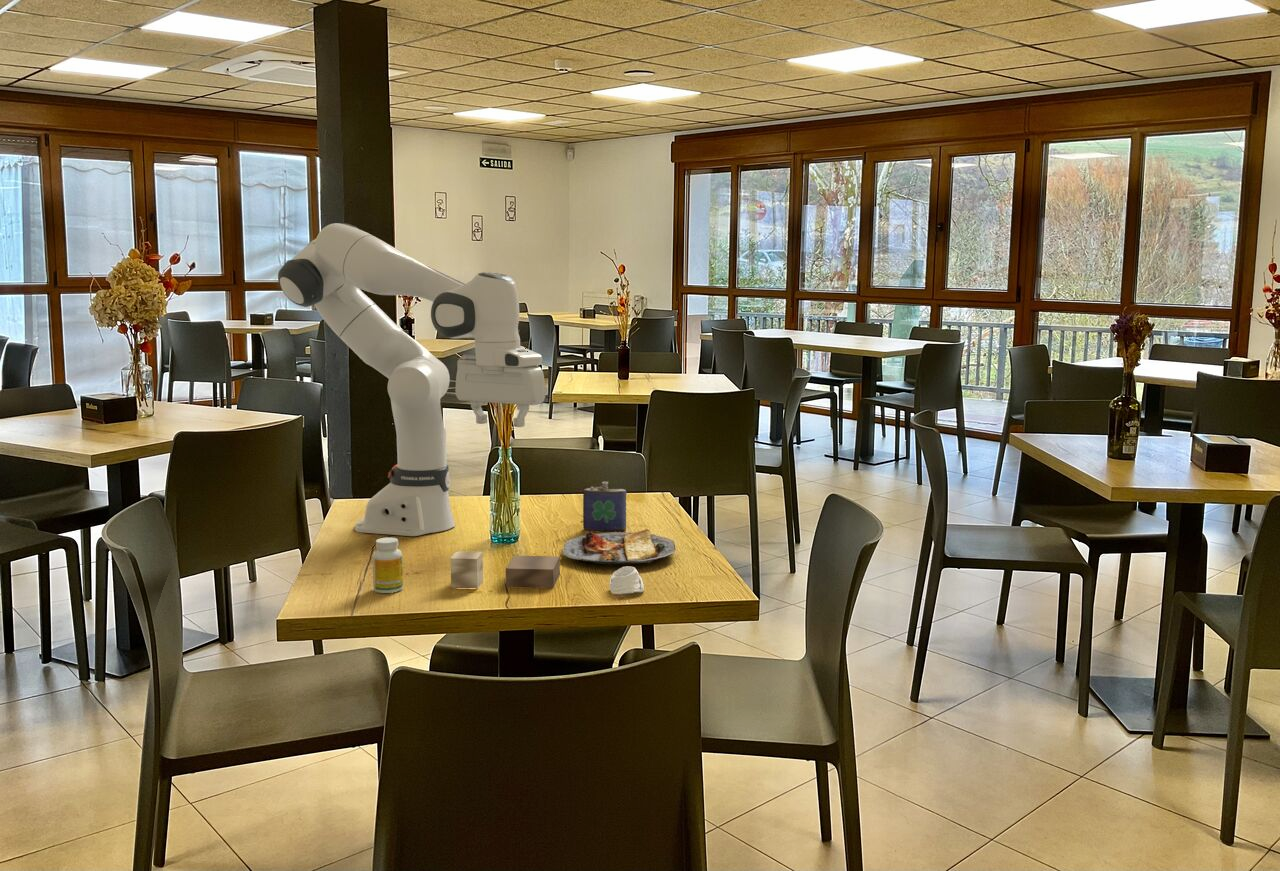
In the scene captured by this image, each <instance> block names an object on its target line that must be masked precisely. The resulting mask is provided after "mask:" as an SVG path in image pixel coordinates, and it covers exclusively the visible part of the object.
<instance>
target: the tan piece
mask: <svg viewBox="0 0 1280 871" xmlns="http://www.w3.org/2000/svg"><path fill="white" fill-rule="evenodd" d="M449 562H450V588H451V587H452V588H476V589H478V590H479V588H480V587H481V586H482V584H483V583H484V568H483V567H484V559H483V551H470V550H469V551H466V550H465V551H459V550H458V551H455V553H453V554H452V555H451V557H450V561H449ZM482 582H483V583H482ZM481 583H482V584H481ZM480 585H481V586H480ZM479 586H480V587H479ZM478 587H479V588H478Z"/></svg>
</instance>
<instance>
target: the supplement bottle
mask: <svg viewBox="0 0 1280 871" xmlns="http://www.w3.org/2000/svg"><path fill="white" fill-rule="evenodd" d="M398 547H399V539H398V538H396V537H382V538H378V539H376V540H375V548H376V550H374V552H373V553H372V580H373V581H372V585H373V591H374V592H375V591H376V593H377V592H378V594H383V593H390V594H393V593H392V592H395V593H397V592H396V591H399V590H400V591H402V590H403V588H404V582H403V581H404V579H403V578H404V576H403V575H404V574H403V573H404V572H403V553H402V551H401V550H400V549H399V548H398ZM401 589H402V590H401ZM400 591H399V592H400Z"/></svg>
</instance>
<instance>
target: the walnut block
mask: <svg viewBox="0 0 1280 871" xmlns="http://www.w3.org/2000/svg"><path fill="white" fill-rule="evenodd" d="M560 560H561V558H560V556H558V555H557V556H556V555H555V556H553V555H549V556H548V555H516V554H515V555H513V556H512V558H511V559H510V562H509V563H508V564H507V565H506V567H505V588H519V589H520V588H523V589H524V588H525V589H554V588H555V586H556V584H557V582H558V579H559V578H560V575H561V574H560V573H561V570H560V569H561V567H560V566H561V564H560V563H561V562H560ZM556 581H557V582H556Z"/></svg>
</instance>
